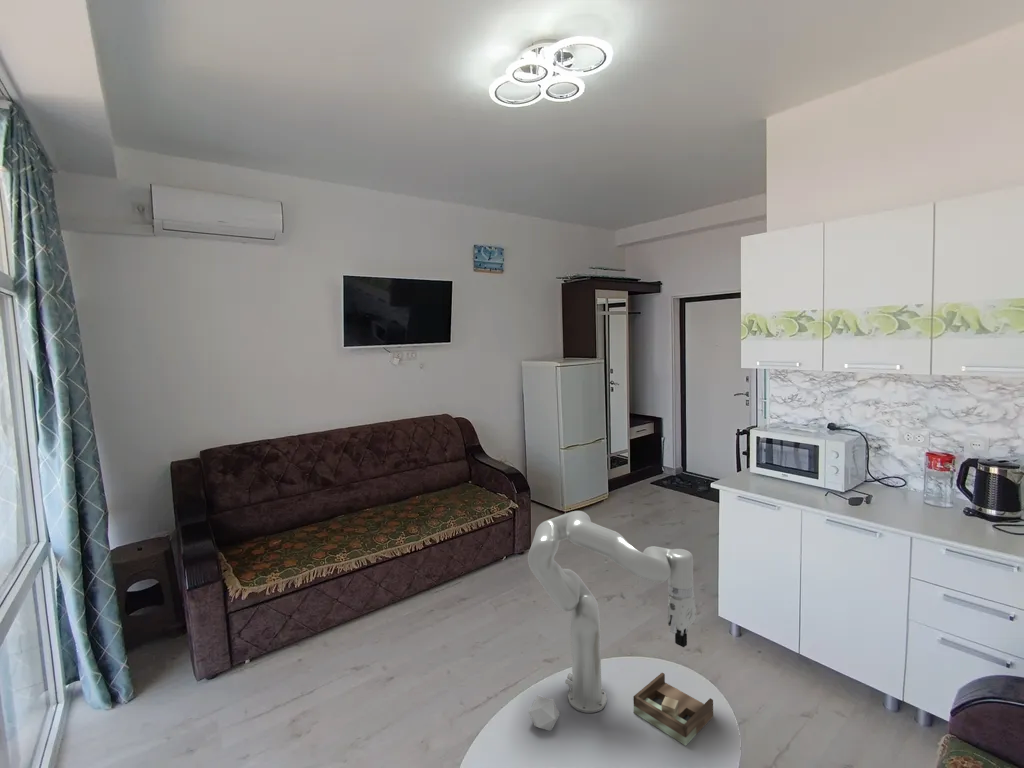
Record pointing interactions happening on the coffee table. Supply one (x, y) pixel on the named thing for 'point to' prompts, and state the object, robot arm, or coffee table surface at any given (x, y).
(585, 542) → the robot arm
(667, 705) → the maple block
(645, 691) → the box
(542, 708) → the die
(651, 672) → the coffee table surface
